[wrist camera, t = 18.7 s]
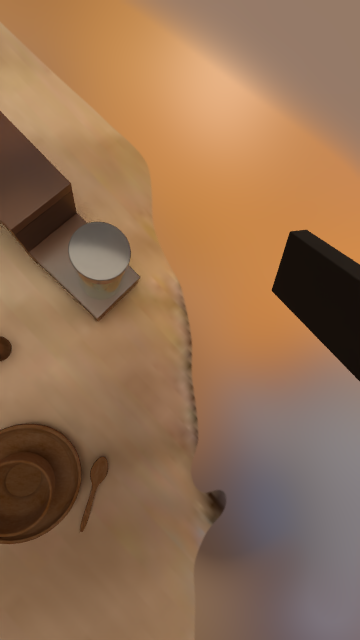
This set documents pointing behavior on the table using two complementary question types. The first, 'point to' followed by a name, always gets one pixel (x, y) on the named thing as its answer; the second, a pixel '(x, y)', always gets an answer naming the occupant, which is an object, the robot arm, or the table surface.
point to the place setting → (38, 478)
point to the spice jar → (99, 258)
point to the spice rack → (45, 214)
